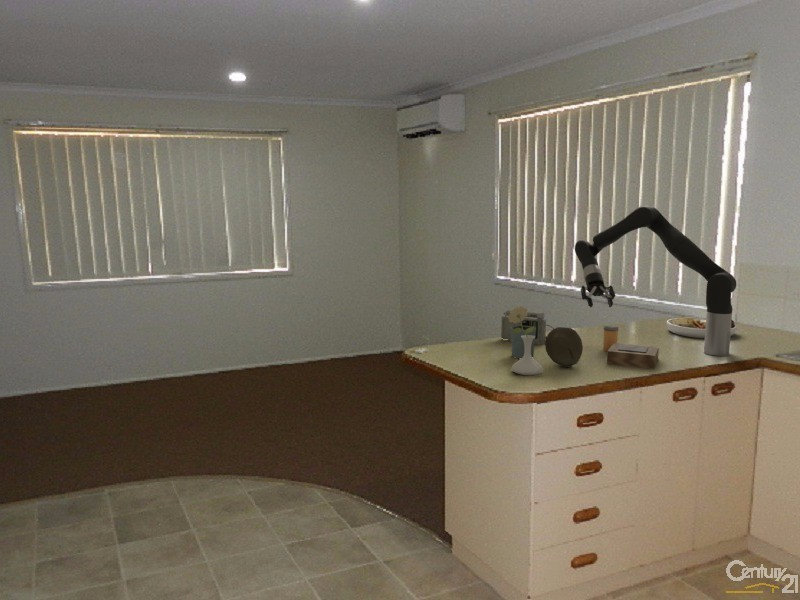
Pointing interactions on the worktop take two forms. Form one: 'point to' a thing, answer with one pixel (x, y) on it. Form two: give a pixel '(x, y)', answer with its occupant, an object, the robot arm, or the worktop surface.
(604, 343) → the amber jar
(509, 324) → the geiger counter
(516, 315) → the flower in vase
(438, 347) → the worktop surface
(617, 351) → the stand
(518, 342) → the drinking glass
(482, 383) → the worktop surface
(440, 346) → the worktop surface
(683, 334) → the bowl
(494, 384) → the worktop surface
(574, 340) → the coconut
